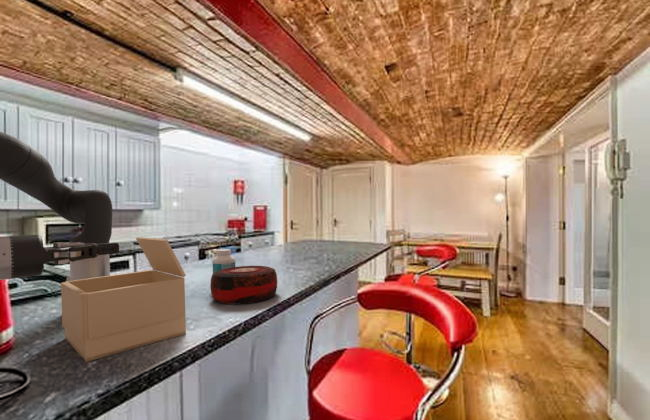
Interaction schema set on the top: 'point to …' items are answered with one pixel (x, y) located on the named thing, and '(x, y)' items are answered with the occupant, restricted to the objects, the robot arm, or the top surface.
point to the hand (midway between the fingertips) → (117, 247)
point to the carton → (122, 312)
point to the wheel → (243, 284)
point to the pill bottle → (223, 260)
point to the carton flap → (160, 255)
